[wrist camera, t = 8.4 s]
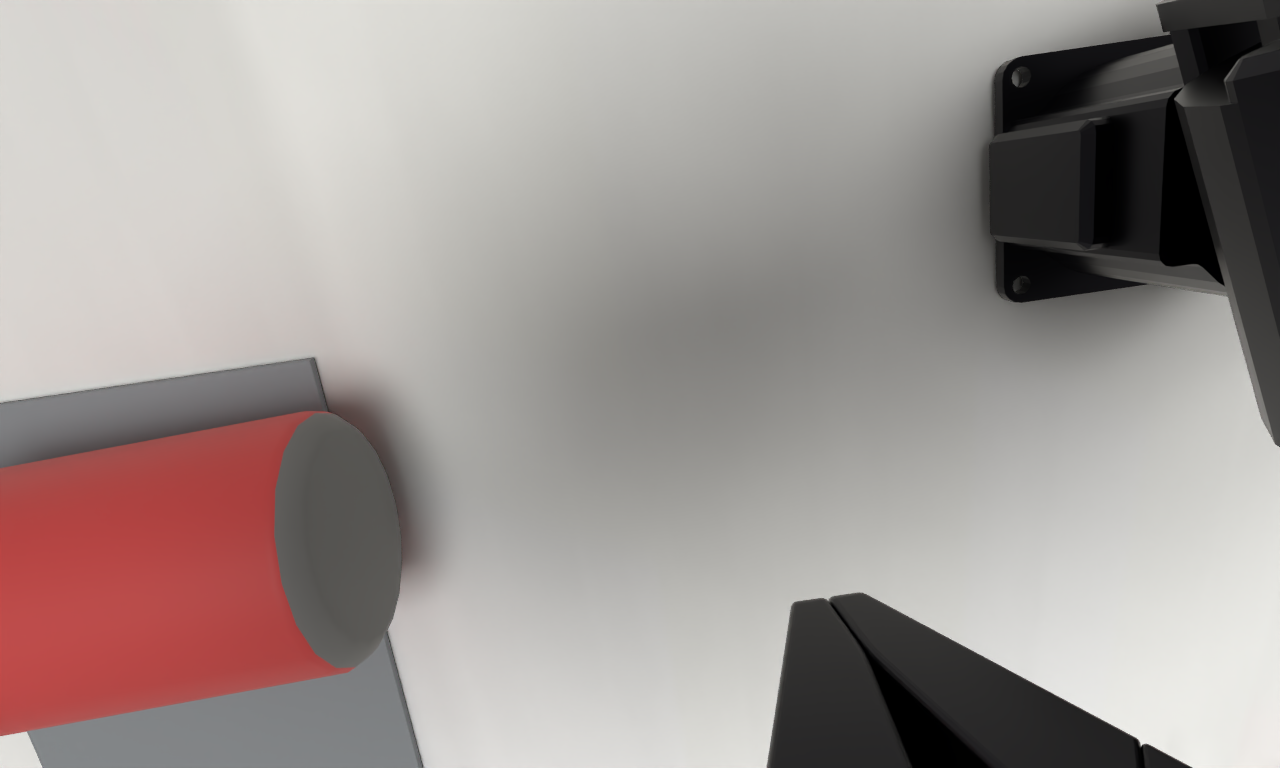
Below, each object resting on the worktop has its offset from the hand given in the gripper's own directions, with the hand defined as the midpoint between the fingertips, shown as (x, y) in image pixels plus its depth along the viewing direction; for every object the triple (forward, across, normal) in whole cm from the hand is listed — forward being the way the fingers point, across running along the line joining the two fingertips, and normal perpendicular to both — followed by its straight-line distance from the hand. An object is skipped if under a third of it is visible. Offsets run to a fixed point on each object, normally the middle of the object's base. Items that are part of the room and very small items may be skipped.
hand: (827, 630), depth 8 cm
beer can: (+10, +9, +2) cm, 13 cm away
